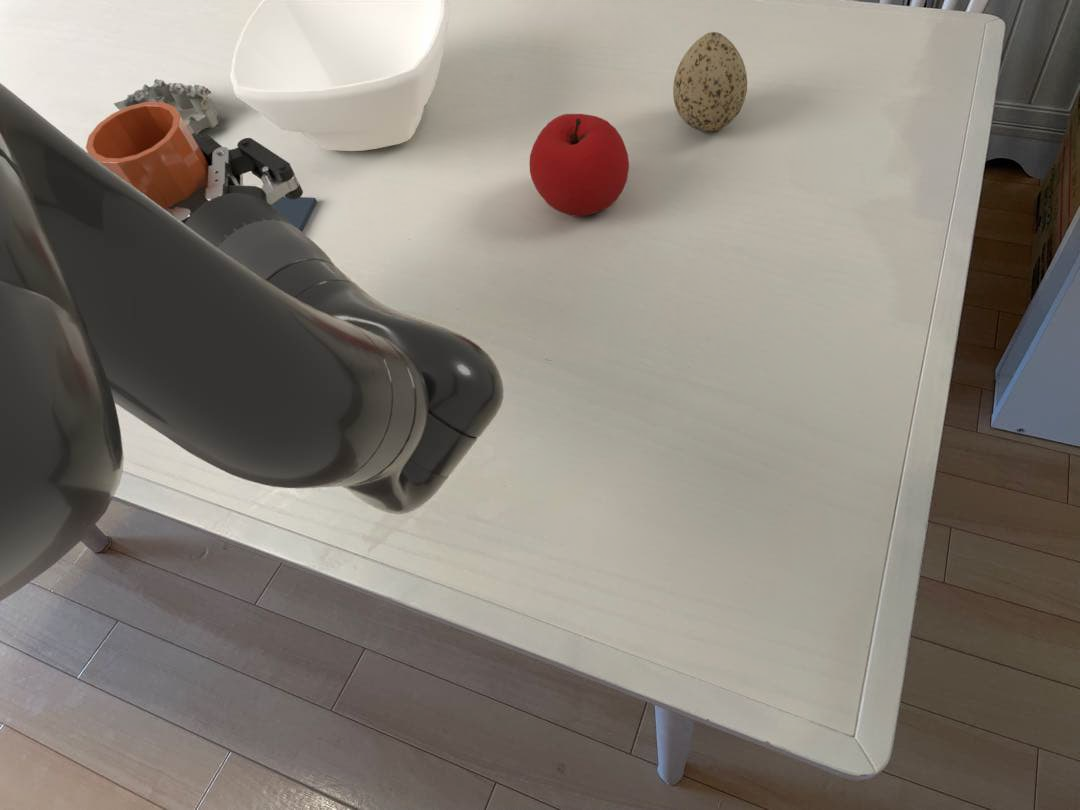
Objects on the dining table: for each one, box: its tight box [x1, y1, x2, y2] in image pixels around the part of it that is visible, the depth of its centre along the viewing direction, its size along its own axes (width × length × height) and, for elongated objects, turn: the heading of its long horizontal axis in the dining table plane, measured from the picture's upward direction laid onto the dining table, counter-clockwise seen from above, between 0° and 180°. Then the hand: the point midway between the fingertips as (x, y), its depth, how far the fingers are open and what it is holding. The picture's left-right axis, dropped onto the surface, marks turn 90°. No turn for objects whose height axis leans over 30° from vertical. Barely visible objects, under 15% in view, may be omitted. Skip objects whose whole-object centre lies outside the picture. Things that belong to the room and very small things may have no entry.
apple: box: [528, 113, 630, 217], centre depth 74 cm, size 9×9×10 cm
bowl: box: [229, 0, 451, 152], centre depth 84 cm, size 22×22×12 cm
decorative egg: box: [672, 31, 748, 132], centre depth 77 cm, size 7×7×10 cm
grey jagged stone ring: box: [113, 79, 219, 135], centre depth 92 cm, size 11×8×4 cm
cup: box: [85, 102, 210, 208], centre depth 59 cm, size 7×7×11 cm
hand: (153, 170), depth 59 cm, fingers closed on cup, 7 cm apart
